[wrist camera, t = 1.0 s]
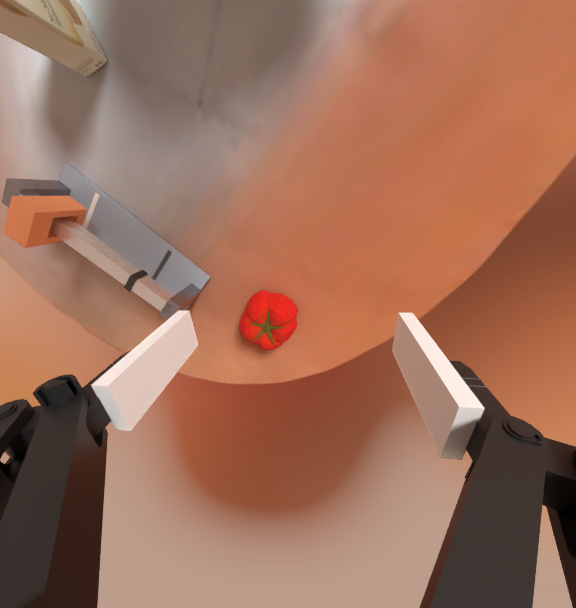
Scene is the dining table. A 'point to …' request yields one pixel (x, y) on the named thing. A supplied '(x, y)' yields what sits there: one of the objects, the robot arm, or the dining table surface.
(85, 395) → the robot arm
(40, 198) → the collar
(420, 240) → the dining table surface
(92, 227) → the board
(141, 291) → the rail
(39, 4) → the skincare box
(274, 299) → the tomato
